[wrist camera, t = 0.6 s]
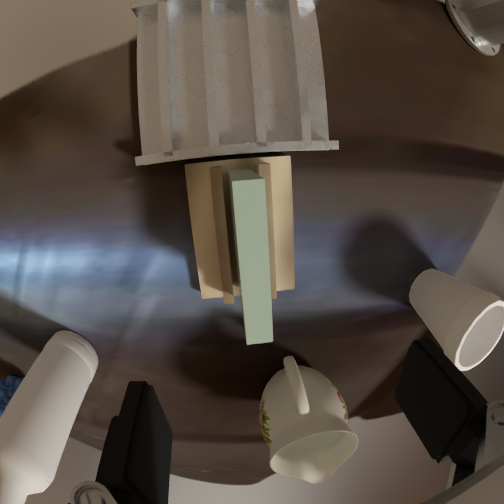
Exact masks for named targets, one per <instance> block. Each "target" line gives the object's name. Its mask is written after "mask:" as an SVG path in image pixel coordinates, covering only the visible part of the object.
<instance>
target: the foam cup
mask: <svg viewBox="0 0 504 504" xmlns="http://www.w3.org/2000/svg"><path fill="white" fill-rule="evenodd" d="M409 300H410V303H411V305H412V306H413V308H414V309H415V310H416V312H417V313H418V314H419V316H420V317H421V318H422V320H423V321H424V323H425V324H426V325H427V327H428V328H429V330H430V331H431V332H432V334H433V335H434V337H435V338H436V340H437V341H438V342H439V344H440V345H441V347H442V348H443V350H444V354H445V355H446V356H447V357H448V358H449V359H450V360H451V361H452V363H453V364H454V365H455V366H456V367H457V368H458V369H459V370H460V371H466V370H469V369H471V368H473V367H475V366H476V365H478V364H479V363H480V362H481V361H483V360H484V359H485V357H487V356H488V355H489V354H490V352H491V351H492V350H493V348H494V347H495V345H496V344H497V342H498V341H499V339H500V338H501V335H502V333H503V331H504V301H503V300H502V299H501V298H499V297H498V296H496V295H495V294H493V293H490V292H487V291H483V290H481V289H479V288H477V287H474V286H472V285H470V284H468V283H466V282H463V281H461V280H459V279H456V278H455V277H452V276H450V275H448V274H445V273H443V272H441V271H438V270H435V269H432V268H431V269H428V270H424V271H423V272H422V273H421V274H420V275H418V276H417V278H416V279H415V281H414V282H413V284H412V285H411V289H410V293H409Z"/></svg>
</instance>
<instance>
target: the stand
mask: <svg viewBox="0 0 504 504" xmlns="http://www.w3.org/2000/svg"><path fill="white" fill-rule="evenodd" d="M240 169H250V170H252V171H254V172H255V173H257V174H258V175H260V176H261V177H263V178H265V190H266V207H267V224H268V242H269V261H270V282H271V299H277V291H281V290H289V289H295V283H294V231H293V201H292V178H291V159H290V156H270V157H254V158H240V159H229V160H218V161H208V162H199V163H190V164H185V174H186V184H187V193H188V202H189V210H190V218H191V226H192V234H193V241H194V249H195V256H196V263H197V270H198V276H199V283H200V289H201V295H202V299H206V298H217V297H223V298H224V304H232V303H234V296H237V295H240V294H239V287H238V277H237V266H236V256H235V245H234V234H233V223H232V212H231V201H230V189H229V177H228V171H229V170H240Z"/></svg>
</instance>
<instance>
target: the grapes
mask: <svg viewBox="0 0 504 504" xmlns="http://www.w3.org/2000/svg"><path fill="white" fill-rule="evenodd" d="M23 379H24V378H18V377H16V376H13V375H9V376H7V378H6V381H5V382H4V381H2V380H0V417H1V416H2V414H3V412H4V410H5V409H6V407H7V405H8V403H9V402H10V400H11V398H12V397H13V395H14V393H15V392H16V390H17V389H18V387H19V385H20V384H21V382H22V381H23Z"/></svg>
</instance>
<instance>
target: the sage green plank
mask: <svg viewBox="0 0 504 504" xmlns="http://www.w3.org/2000/svg"><path fill="white" fill-rule="evenodd" d="M228 177H229V189H230V201H231V212H232V223H233V234H234V245H235V256H236V266H237V277H238V287H239V294H240V301H241V308H242V315H243V322H244V329H245V335H246V342H247V345H250V344H259V343H267V342H273V326H272V303H271V282H270V261H269V242H268V224H267V207H266V190H265V178H263V177H261V176H260V175H258V174H257V173H255V172H254V171H252V170H250V169H240V170H229V171H228Z"/></svg>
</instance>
